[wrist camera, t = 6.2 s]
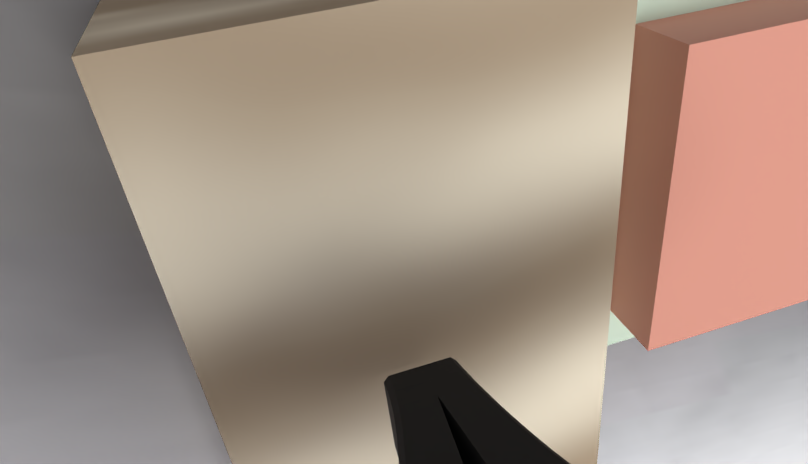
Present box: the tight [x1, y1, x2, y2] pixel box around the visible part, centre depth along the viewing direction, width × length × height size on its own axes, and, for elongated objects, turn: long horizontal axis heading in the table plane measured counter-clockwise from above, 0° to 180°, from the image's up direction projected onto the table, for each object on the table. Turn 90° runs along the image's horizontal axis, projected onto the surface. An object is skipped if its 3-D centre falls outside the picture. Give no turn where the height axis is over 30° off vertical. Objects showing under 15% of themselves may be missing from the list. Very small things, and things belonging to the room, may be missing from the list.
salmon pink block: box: [610, 0, 808, 351], centre depth 18 cm, size 9×6×2 cm, turn 7°
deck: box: [71, 0, 638, 464], centre depth 15 cm, size 14×9×4 cm, turn 7°
